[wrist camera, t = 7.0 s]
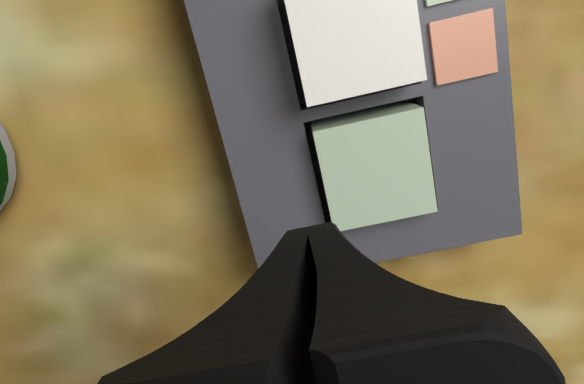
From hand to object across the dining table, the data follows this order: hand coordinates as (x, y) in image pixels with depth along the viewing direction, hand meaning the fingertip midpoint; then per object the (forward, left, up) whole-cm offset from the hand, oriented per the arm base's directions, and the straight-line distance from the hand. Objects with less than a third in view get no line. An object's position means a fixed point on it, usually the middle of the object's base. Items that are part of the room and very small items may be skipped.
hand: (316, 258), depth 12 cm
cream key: (+6, -3, -9) cm, 11 cm away
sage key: (0, -3, -10) cm, 10 cm away
